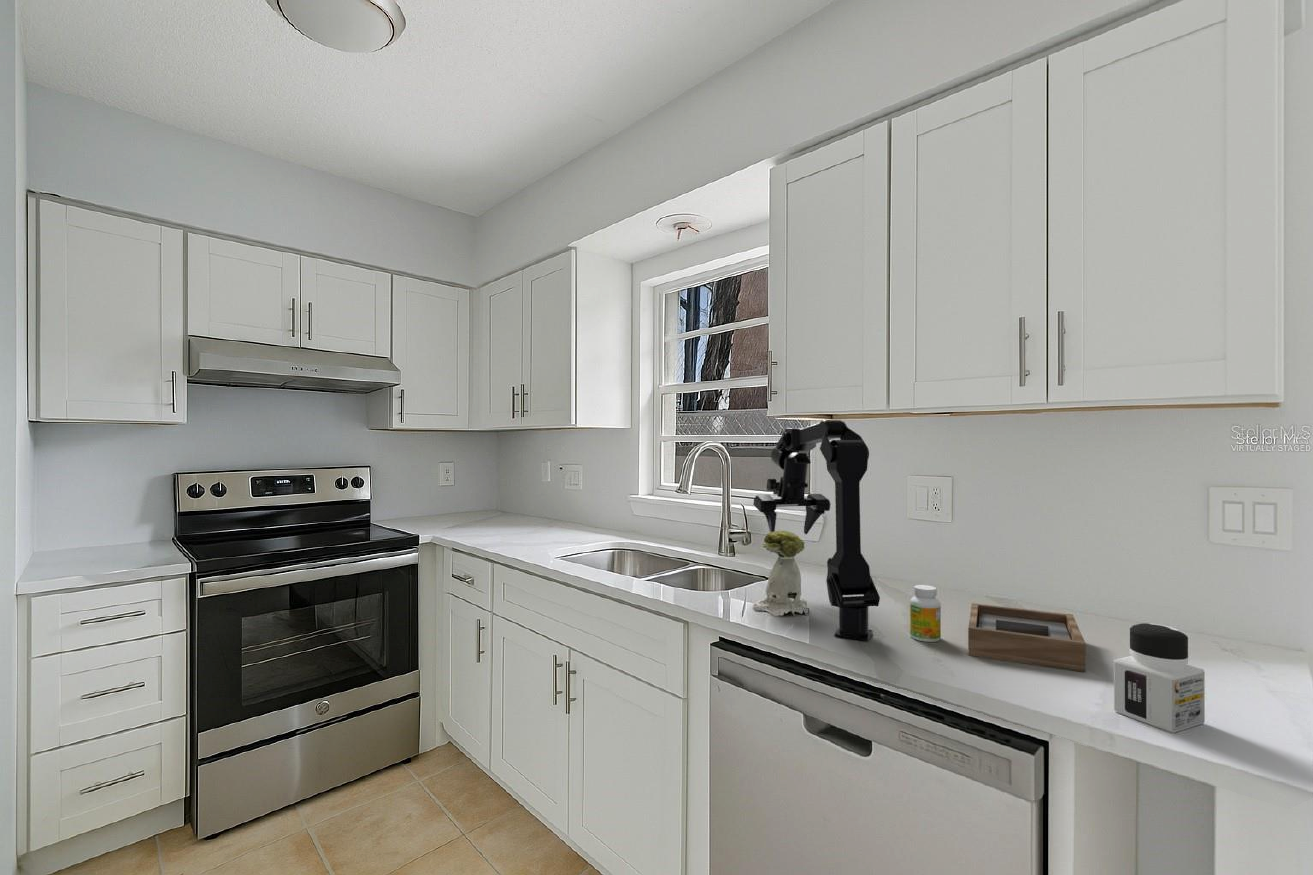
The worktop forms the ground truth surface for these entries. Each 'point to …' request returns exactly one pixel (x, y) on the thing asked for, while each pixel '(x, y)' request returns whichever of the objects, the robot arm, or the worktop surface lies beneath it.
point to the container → (1159, 680)
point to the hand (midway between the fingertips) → (788, 534)
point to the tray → (1026, 637)
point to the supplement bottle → (925, 614)
